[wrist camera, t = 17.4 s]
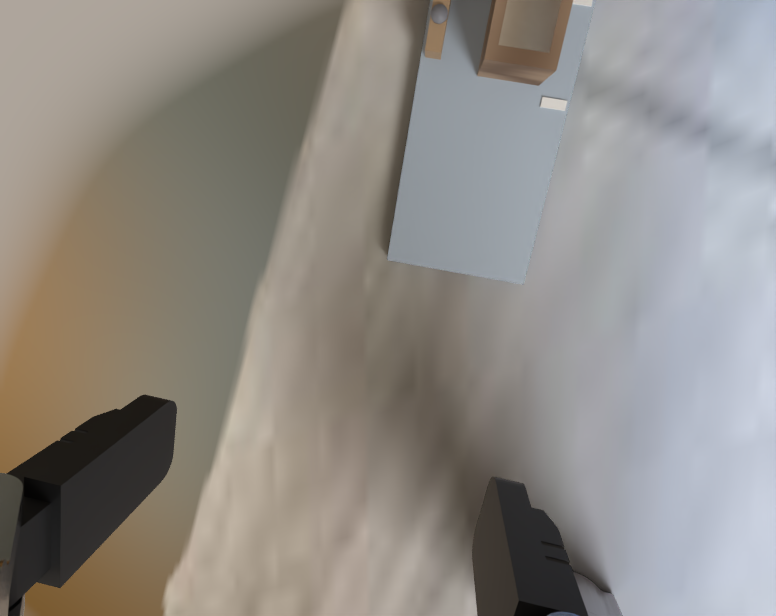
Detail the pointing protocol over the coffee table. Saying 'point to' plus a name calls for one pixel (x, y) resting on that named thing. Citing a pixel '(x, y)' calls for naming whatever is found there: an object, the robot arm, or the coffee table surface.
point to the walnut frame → (524, 39)
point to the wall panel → (479, 149)
